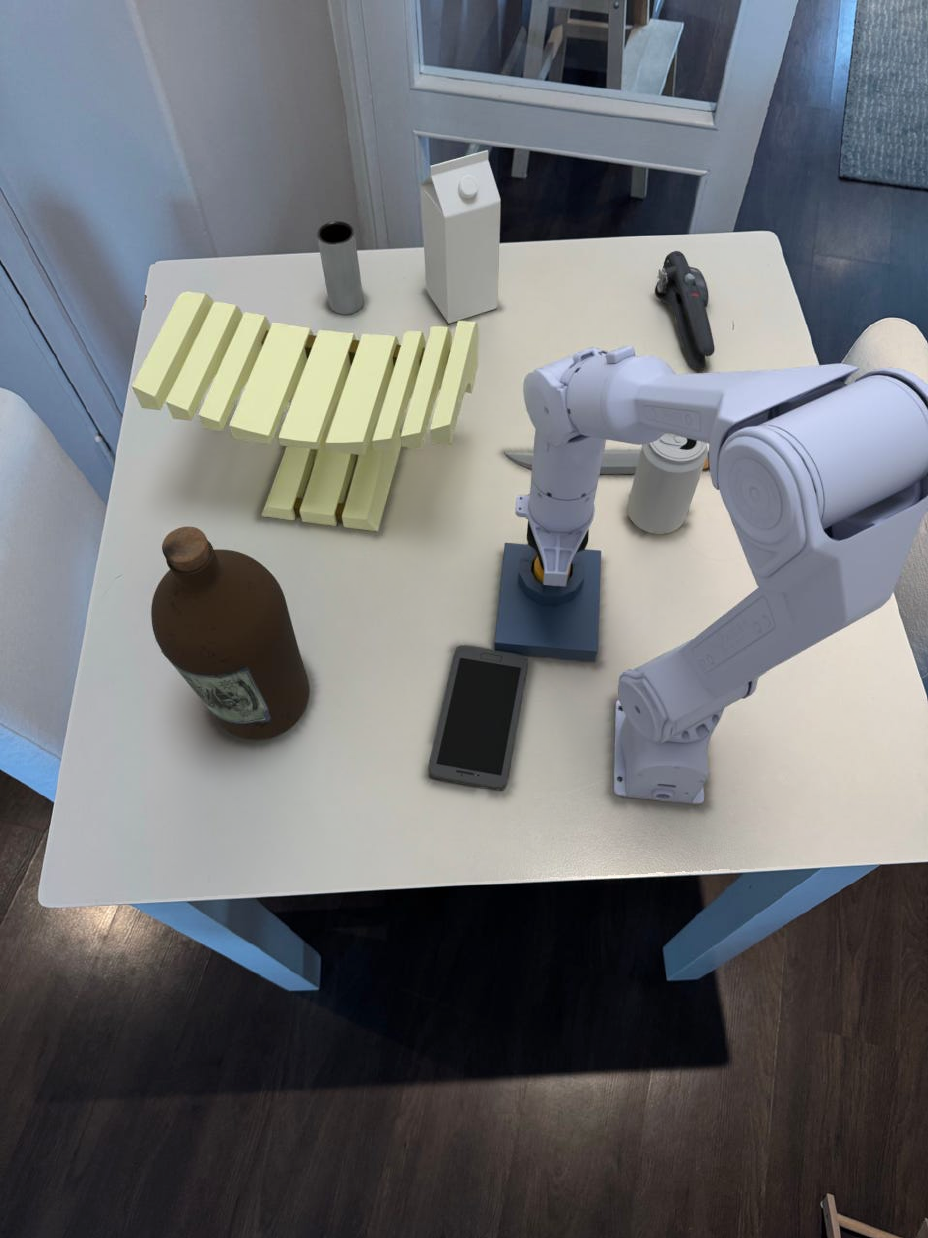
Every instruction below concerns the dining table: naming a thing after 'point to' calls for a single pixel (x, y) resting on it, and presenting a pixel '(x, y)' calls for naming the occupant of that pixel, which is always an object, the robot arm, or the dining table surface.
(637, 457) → the knife
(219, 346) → the slatted curved stool
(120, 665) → the dining table surface
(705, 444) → the beverage can
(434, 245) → the milk carton
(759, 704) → the dining table surface
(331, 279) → the gray cylinder
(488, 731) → the cell phone
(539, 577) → the trigger button
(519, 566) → the button housing
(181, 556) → the brown bottle
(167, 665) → the dining table surface
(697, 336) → the can opener
